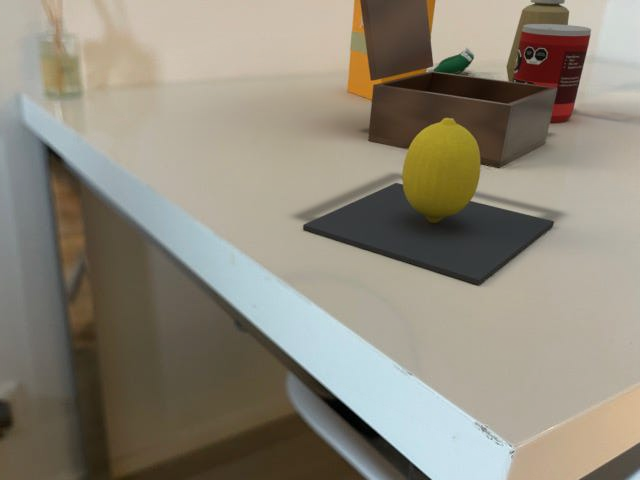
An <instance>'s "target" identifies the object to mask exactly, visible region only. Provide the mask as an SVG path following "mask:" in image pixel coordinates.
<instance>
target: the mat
mask: <svg viewBox="0 0 640 480" xmlns="http://www.w3.org/2000/svg"><path fill="white" fill-rule="evenodd" d="M554 223H555V220H550V219H547V218H543V217H538V216H535V215H532V214H531V215H530V214H526V213H523V212H518V211H514V210H509V209H506V208H501V207H498V206H494V205H493V206H492V205H489V204H485V203H481V202H477V201H473V200H471V201H470V202H469V203H468V204H467V205H466V206H465V207H464V208H463V209H462V210H461V211H459V212H458V213H456V214H454V215H451V216H447V217H444V218H443V219H442V220H440V221H439V222H438V223H431V222H429V220H428V219H427V218H426V216H425V215H424V214H422V213H420V212H418V211H417V210H415V209H414V208H413V207H412V205H411V204H410V203H409V202H408V200H407V198H406V196H405V193H404V189H403V183H400V182H394V183H392V184H390V185H388V186H386V187H383V188H381V189H379V190H376V191H374V192H372V193H371V194H368V195H366V196H363V197H361V198H359V199H357V200H355V201H352V202H350V203H348V204H346V205H344V206H342V207H339V208H337V209H334V210H333V211H330V212H328V213H326V214H324V215H322V216H319V217H317V218H315V219H313V220H310V221H309V222H306V223H304V224H303V225H302V230H304V231H307V232H311V233H313V234H317V235H319V236H323V237H325V238H329V239H333V240H335V241H340V242H341V243H345V244H347V245H350V246H354V247H357V248H360V249H363V250H367V251H370V252H373V253H376V254H380V255H383V256H386V257H389V258H392V259H395V260H398V261H401V262H404V263H408V264H411V265H414V266H418V267H420V268H424V269H427V270H429V271H433V272H435V273H439V274H442V275H445V276H449V277H452V278H454V279H457V280H461V281H464V282H467V283H470V284H473V285H476V286H479V285H481V284H483V282H484V281H486V280H487V279H488V278H489V277H491V276H492V275H494V274H495V273H496V272H498V270H499V269H501V268H502V267H503V266H505V265H506V264H507V263H508V262H509V261H511V260H513V258H514V257H516V256H517V255H518V254H520V253H521V252H523V251H524V250H525V249H526V248H527V247H528V246H529V245H531V244H532V243H533V242H535V241H536V240H537V239H539V238H540V237H541V236H542V235H543V234H545V233H546V232H547V231H548V230H550V229H551V228H552V227H553V226H554Z"/></svg>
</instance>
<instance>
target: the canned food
mask: <svg viewBox="0 0 640 480" xmlns="http://www.w3.org/2000/svg"><path fill="white" fill-rule="evenodd" d="M591 32H592V29H591V28H590V27H587V26H580V25H571V24H568V25H559V24H527V25H524V26H523V29H522V32H521V38H520V42H519V47H518V53H517V58H516V64H515V69H514V75H513V80H512V82H518V83H526V84H533V85H541V86H549V87H556V88H557V93H556V97H555V102H554V107H553V111H552V116H551V120H550V123H563V122H566V121H569V120H570V118H571V116H572V115H573V112H574V108H575V103H576V99H577V96H578V91H579V86H580V82H581V79H582V75H583V70H584V66H585V62H586V58H587V53H588V48H589V45H590V39H591V36H592V35H591V34H592V33H591Z"/></svg>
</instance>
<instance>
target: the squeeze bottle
mask: <svg viewBox="0 0 640 480" xmlns="http://www.w3.org/2000/svg"><path fill="white" fill-rule="evenodd" d="M565 2H566V0H530V3H532V4H529V5H527V6H525V7H524V8H522V10H521V13H520V17H519V20H518V24H517V28H516V31H515V35H514V38H513V42H512V45H511V49H510V52H509V56H508V59H507V63H506V74H507V81H510V82H512V80H513V75H514V69H515V64H516V58H517V53H518V47H519V42H520V38H521V32H522V29H523V26H524V25H527V24H559V25H569V18H570V10H569V9H568V8H567V7H565V6H564V5H562V4H565Z"/></svg>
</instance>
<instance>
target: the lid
mask: <svg viewBox="0 0 640 480" xmlns="http://www.w3.org/2000/svg"><path fill="white" fill-rule="evenodd" d="M360 3H361V11H362V18H363V26H364V34H365V41H366V49H367V56H368V64H369V71H370V79H371V81H373V80H378V79H382V78H387V77H391V76H395V75H400V74H404V73H408V72H412V71H417V70H421V69H425V68H427V69H429V68H433V67H434V57H433V49H432V37H431V38H430V28H429V19H428V9H427V0H360Z"/></svg>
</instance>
